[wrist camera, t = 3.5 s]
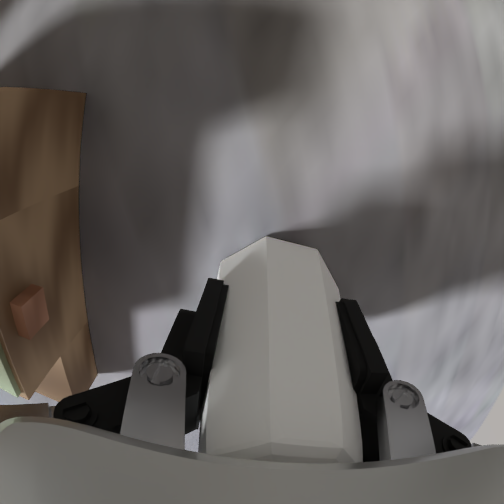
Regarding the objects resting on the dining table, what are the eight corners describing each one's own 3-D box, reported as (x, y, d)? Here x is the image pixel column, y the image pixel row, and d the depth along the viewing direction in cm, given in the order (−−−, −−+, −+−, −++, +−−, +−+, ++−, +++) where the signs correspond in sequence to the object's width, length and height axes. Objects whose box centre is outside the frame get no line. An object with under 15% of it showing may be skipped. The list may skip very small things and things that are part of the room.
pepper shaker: (262, 206, 12) (240, 556, 2) (362, 283, 13) (473, 535, 3) (187, 304, 13) (95, 554, 3) (283, 362, 14) (289, 591, 4)
